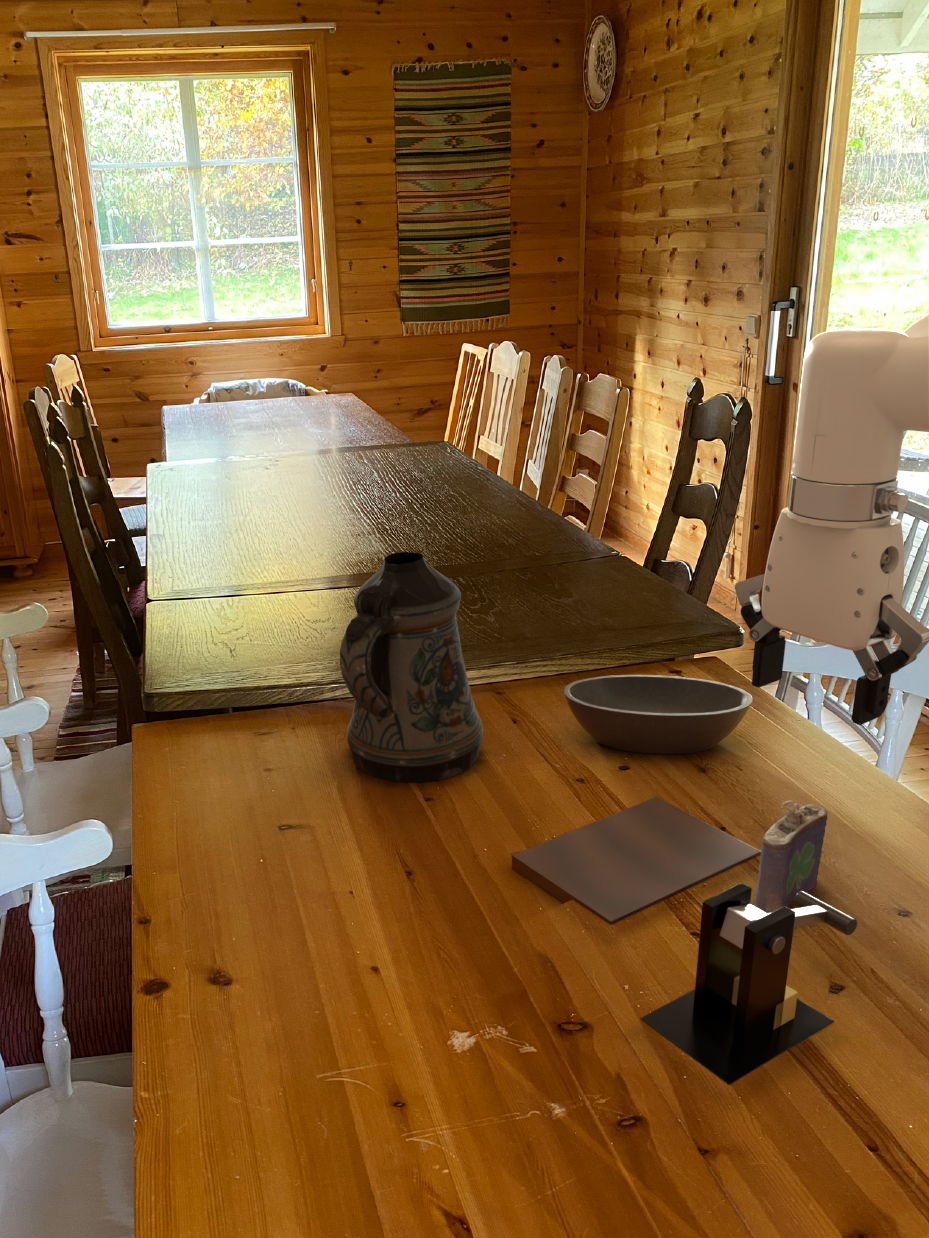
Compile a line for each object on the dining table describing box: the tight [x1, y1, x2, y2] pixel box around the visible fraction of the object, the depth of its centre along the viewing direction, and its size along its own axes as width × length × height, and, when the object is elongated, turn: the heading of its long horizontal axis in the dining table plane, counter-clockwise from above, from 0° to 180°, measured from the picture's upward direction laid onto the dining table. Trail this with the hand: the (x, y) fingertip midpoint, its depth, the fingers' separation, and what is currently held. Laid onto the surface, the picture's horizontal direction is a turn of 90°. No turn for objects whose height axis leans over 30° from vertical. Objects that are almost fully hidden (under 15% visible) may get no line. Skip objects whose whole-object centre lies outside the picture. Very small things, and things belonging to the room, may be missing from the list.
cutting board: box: [511, 796, 761, 926], centre depth 109 cm, size 20×14×2 cm
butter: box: [732, 975, 799, 1030], centre depth 87 cm, size 3×5×2 cm, turn 32°
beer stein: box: [339, 551, 484, 784], centre depth 129 cm, size 16×19×25 cm
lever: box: [720, 891, 858, 949], centre depth 86 cm, size 12×5×2 cm, turn 123°
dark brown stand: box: [639, 882, 835, 1086], centre depth 85 cm, size 12×9×12 cm
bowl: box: [563, 674, 753, 755], centre depth 134 cm, size 12×22×6 cm, turn 78°
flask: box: [754, 799, 828, 913], centre depth 100 cm, size 9×3×11 cm, turn 133°
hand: (814, 700), depth 92 cm, fingers open, 9 cm apart
